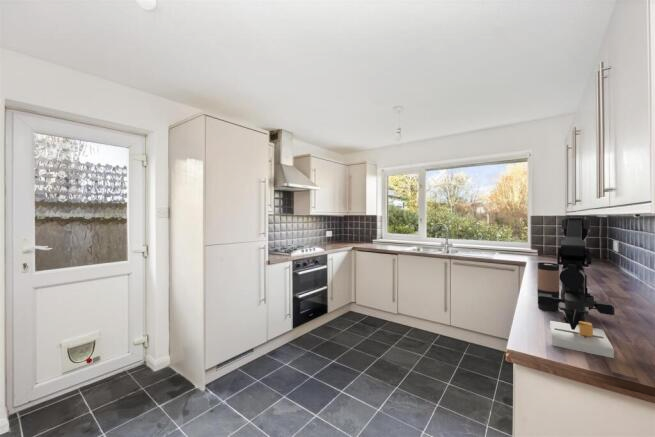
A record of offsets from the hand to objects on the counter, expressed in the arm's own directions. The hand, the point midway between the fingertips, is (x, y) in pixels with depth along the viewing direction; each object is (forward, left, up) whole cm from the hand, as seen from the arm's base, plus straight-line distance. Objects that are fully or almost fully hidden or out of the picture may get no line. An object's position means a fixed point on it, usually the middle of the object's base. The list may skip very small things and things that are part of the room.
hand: (572, 329), depth 94 cm
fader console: (0, +1, -4) cm, 4 cm away
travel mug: (-35, -6, -4) cm, 36 cm away
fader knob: (0, +3, -1) cm, 3 cm away
